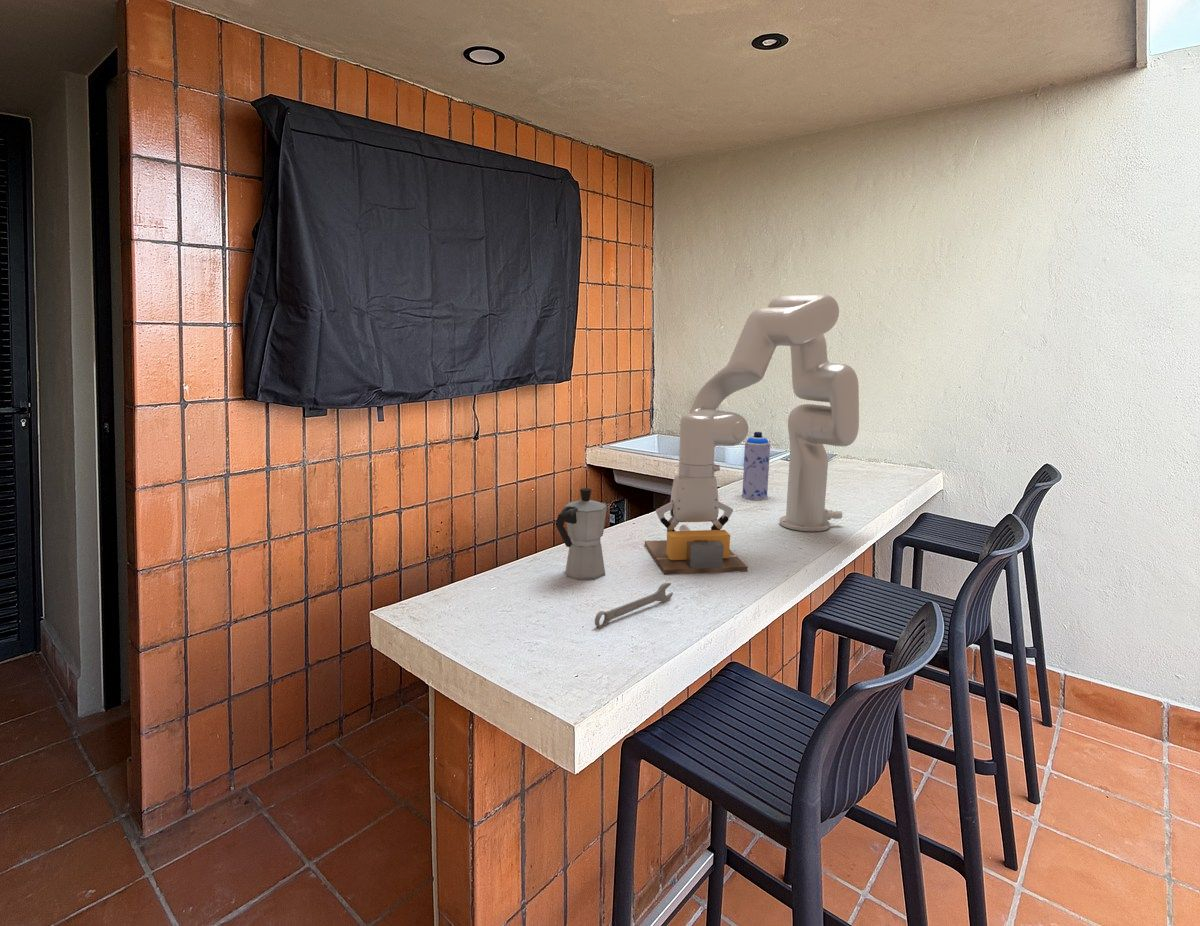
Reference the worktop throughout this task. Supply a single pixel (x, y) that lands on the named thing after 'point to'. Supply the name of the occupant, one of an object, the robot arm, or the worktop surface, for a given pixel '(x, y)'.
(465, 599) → the worktop surface
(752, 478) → the aerosol can
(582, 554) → the coffee maker
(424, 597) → the worktop surface
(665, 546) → the pipe board
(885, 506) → the worktop surface
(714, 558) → the grey block with rod
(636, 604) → the combination wrench
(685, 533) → the collar
